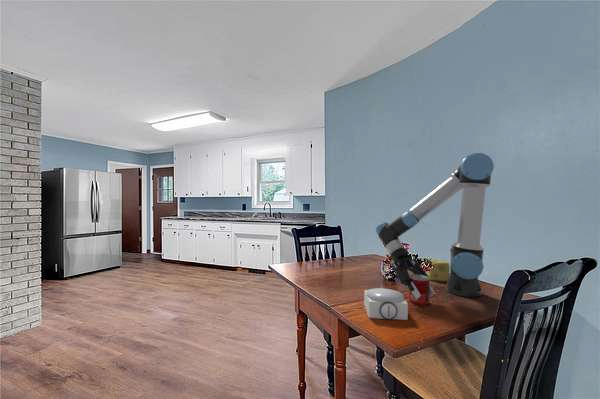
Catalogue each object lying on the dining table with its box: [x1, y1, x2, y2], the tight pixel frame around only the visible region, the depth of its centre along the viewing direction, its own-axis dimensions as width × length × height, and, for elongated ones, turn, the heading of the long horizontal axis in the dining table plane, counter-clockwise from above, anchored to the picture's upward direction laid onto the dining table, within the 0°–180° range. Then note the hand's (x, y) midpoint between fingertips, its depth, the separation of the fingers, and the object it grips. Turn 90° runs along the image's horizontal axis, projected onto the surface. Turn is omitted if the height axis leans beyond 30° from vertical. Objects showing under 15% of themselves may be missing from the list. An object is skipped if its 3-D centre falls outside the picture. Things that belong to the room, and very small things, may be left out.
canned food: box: [408, 274, 430, 306], centre depth 127 cm, size 8×8×11 cm
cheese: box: [426, 258, 450, 282], centre depth 166 cm, size 10×11×10 cm
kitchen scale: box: [363, 287, 409, 321], centre depth 115 cm, size 14×15×7 cm
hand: (425, 296), depth 124 cm, fingers closed on canned food, 8 cm apart
